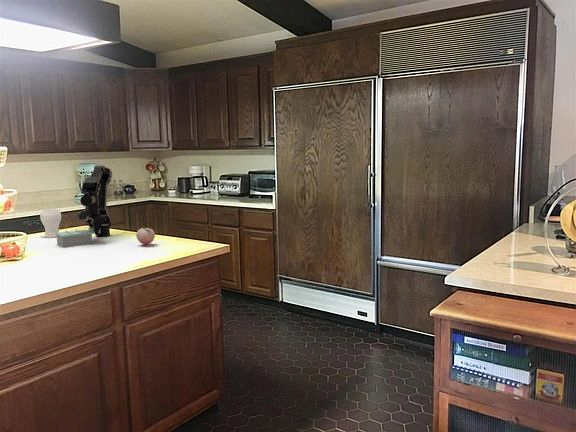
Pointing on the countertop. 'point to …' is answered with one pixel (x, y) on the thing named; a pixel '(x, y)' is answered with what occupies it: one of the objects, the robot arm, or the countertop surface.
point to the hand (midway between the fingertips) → (94, 234)
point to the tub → (74, 240)
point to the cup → (51, 221)
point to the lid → (77, 232)
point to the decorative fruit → (145, 235)
